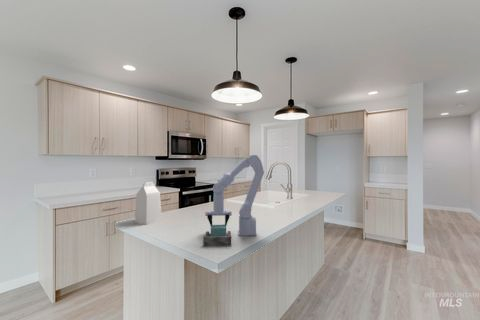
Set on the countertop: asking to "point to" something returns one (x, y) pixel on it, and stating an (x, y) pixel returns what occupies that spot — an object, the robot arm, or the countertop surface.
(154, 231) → the countertop surface
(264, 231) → the countertop surface
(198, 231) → the countertop surface
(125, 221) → the countertop surface
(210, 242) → the guide lane
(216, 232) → the block
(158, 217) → the milk
